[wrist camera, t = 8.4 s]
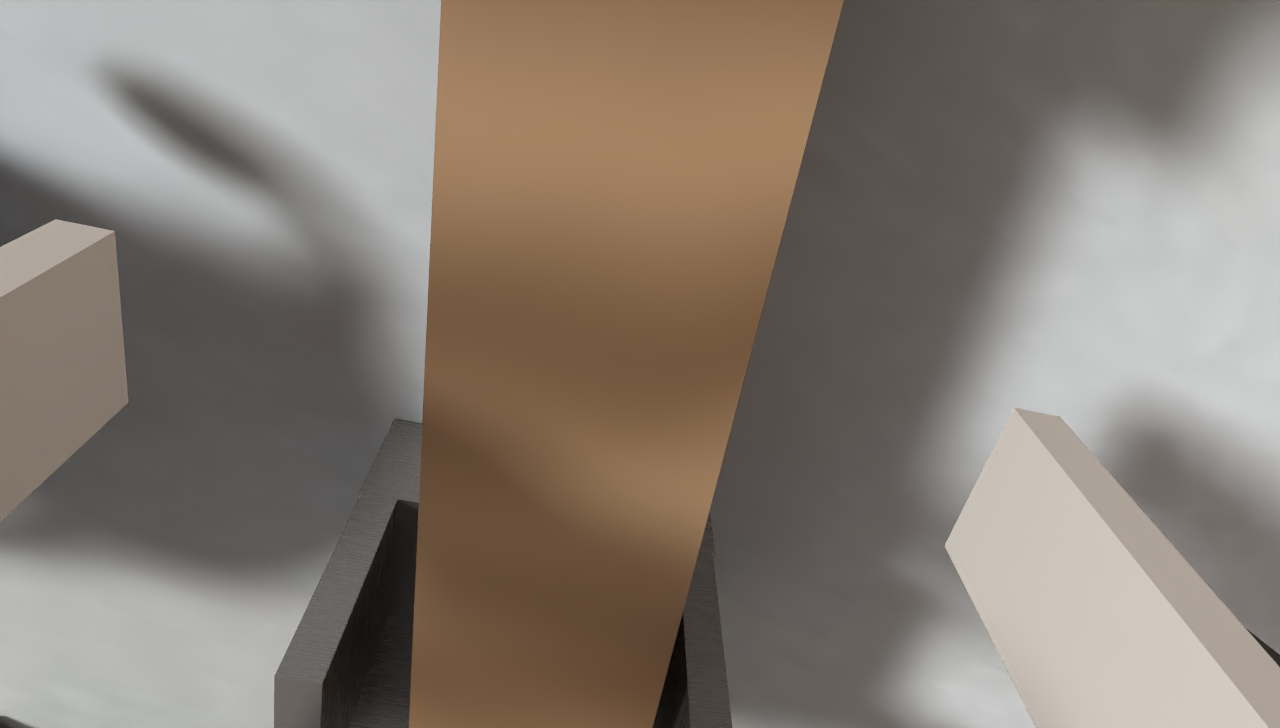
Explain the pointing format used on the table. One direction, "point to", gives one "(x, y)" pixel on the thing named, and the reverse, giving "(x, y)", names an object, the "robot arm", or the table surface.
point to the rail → (591, 334)
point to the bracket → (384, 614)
